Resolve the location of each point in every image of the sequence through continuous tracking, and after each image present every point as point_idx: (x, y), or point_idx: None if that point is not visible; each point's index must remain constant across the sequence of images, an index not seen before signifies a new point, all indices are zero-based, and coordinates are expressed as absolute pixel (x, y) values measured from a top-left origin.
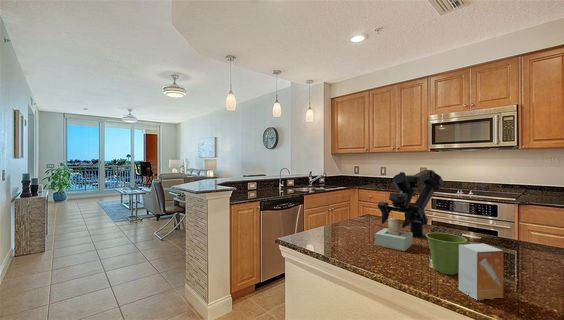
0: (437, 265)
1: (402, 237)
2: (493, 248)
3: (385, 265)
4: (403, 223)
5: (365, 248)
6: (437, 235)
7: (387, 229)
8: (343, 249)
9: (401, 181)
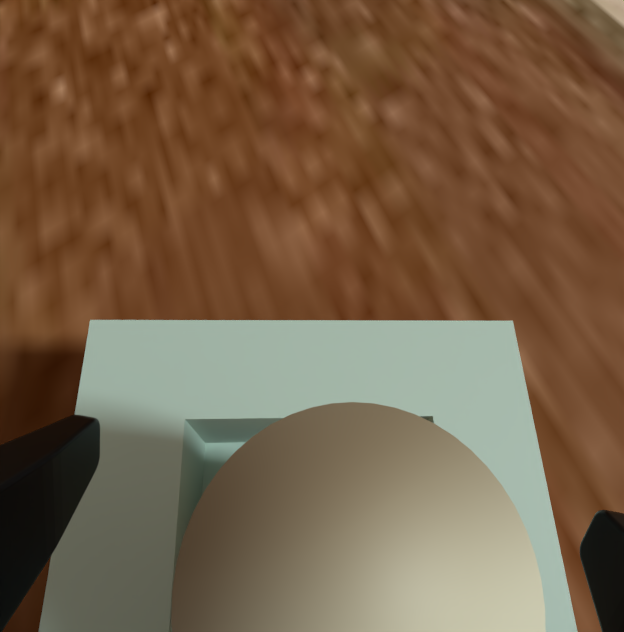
0: None
1: (128, 370)
2: None
3: (197, 18)
4: (30, 447)
5: (464, 224)
6: None
7: None
8: (566, 112)
9: None
